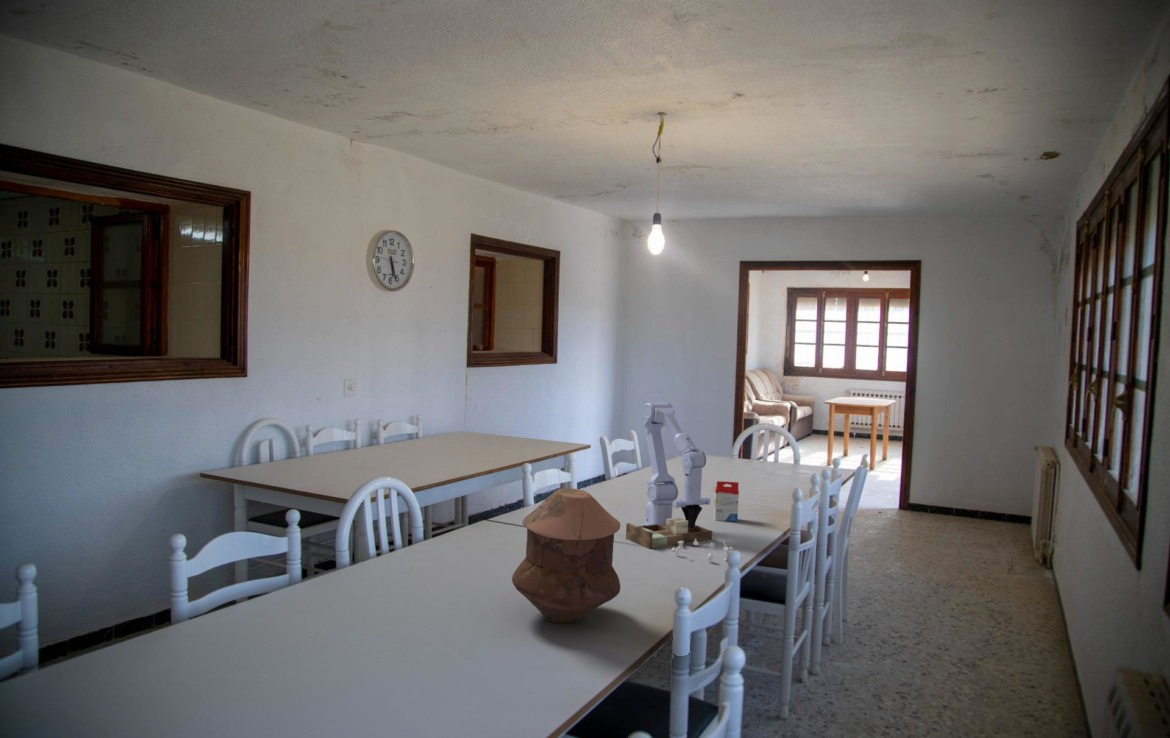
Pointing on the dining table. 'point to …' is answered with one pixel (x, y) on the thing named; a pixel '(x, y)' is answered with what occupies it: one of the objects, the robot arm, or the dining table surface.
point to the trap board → (664, 535)
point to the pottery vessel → (568, 556)
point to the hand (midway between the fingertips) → (690, 527)
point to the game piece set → (695, 542)
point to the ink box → (726, 501)
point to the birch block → (677, 525)
